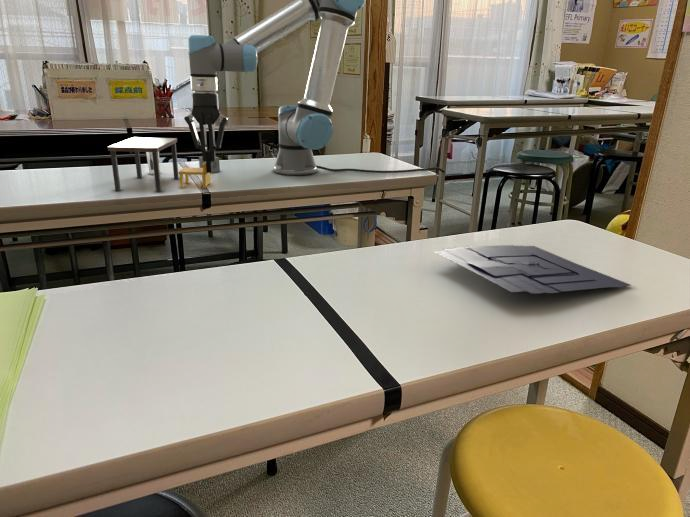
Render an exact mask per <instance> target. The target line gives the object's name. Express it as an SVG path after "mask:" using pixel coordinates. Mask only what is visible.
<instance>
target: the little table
mask: <svg viewBox="0 0 690 517" xmlns="http://www.w3.org/2000/svg"><path fill="white" fill-rule="evenodd" d="M176 143H178V138H177V137H147V136H146V137H142V136H133V137H130V138H127V139H124V140H122V141H119V142H117V143H113V144H111V145H109V146H107V151H108V152H110V153H109V154H110V160H111V167H112V168H111V169H112V175H113V176H112V177H113V181H114V182H113V183H114V190H115V192H120V191H121V182H120V181H121V179H120V172H119V164H118V157H117V156H118V155H117V152H131V153H133V152H134V162H135V169H136V178H137V179H142V178H143V173H142V164H141V155H140V153H146V152H152V155H153V164H154V174H153V175H154V182H155V192H156V193H161V192H162V182H161V173H160V172H161V170H160V159H159V160H158V152H159V153H160V152H161V151H163V150H164V149H167V148H169V147H171V148H170V149H171V158H172V169H173V170H172V171H173V179H174V180H178V179H180V175H179V166H178V152H177V144H176Z"/></svg>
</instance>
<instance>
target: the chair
mask: <svg viewBox="0 0 690 517" xmlns="http://www.w3.org/2000/svg"><path fill="white" fill-rule="evenodd" d="M178 175H179V185H180V186H179V187H180V189H184V188H185V185H184V177H185V184H190V180H189V175H191V176H192V175H194V176H195V175H196V176H201V181H202V182H201V183H202V189H206V188H207V186H208V185H210V184H211V182H212V178H211V177H212V176H211V173H207V170H206V162H205V163H204V164H203V168H200V167H191V166H190V167H187V166H186V167H185V166H184V167H182V168H181V169H180V170H178Z"/></svg>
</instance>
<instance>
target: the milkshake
mask: <svg viewBox="0 0 690 517" xmlns="http://www.w3.org/2000/svg"><path fill="white" fill-rule="evenodd" d="M145 157H146V161H147V167H148V172H149V175H155V174H154V164H153V155H152V152H145ZM158 160H159V161H160V151H159V152H158Z"/></svg>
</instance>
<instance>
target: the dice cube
mask: <svg viewBox="0 0 690 517" xmlns="http://www.w3.org/2000/svg"><path fill="white" fill-rule="evenodd" d="M205 162H206V161H203V160H202V156H198V166H199V167H198V168H203V164H204V163H205ZM220 165H221V164H220V157H219V156H216V160H215V161H214V162H213V172H212V173H211V174H214V173H220V172H221V168H220Z"/></svg>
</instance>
